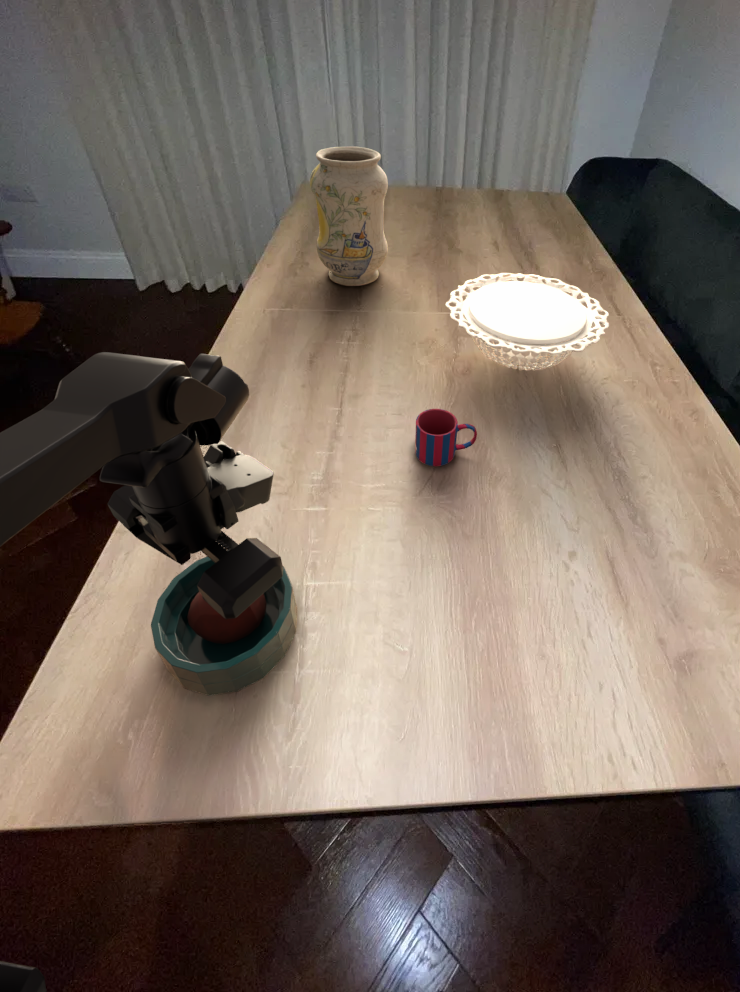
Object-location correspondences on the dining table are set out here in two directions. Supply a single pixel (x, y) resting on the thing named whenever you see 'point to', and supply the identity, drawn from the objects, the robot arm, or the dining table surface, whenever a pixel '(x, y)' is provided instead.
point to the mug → (439, 437)
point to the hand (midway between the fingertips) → (212, 584)
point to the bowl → (212, 662)
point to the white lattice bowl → (527, 319)
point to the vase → (350, 213)
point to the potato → (224, 621)
